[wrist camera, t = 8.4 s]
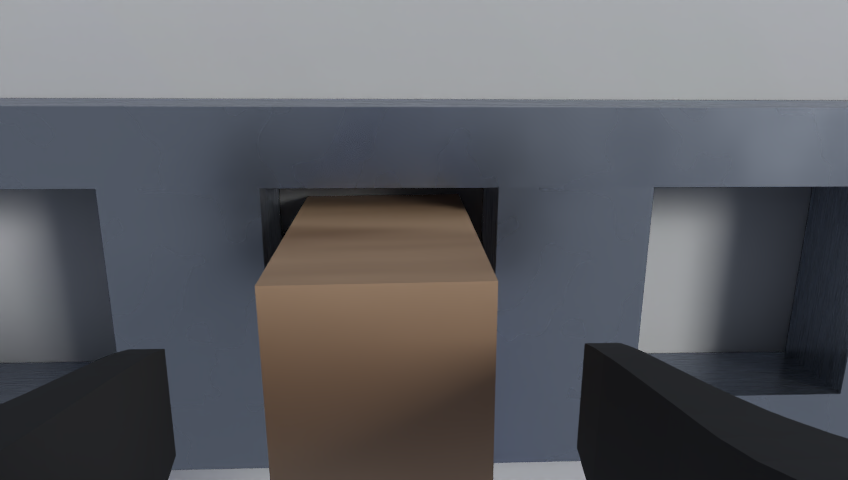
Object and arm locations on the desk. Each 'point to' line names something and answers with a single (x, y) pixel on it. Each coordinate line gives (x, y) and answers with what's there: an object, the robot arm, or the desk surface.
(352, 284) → the square peg
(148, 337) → the grey square hole board
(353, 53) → the desk surface
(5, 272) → the desk surface
